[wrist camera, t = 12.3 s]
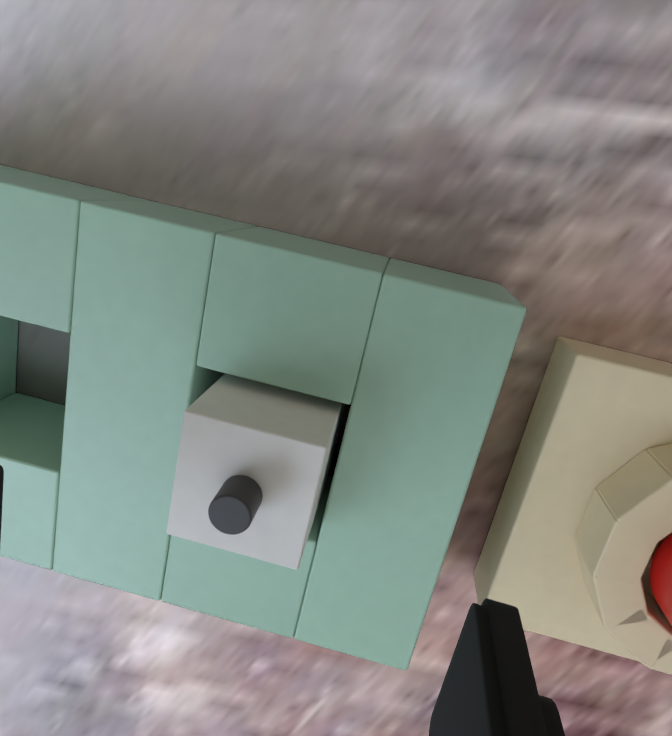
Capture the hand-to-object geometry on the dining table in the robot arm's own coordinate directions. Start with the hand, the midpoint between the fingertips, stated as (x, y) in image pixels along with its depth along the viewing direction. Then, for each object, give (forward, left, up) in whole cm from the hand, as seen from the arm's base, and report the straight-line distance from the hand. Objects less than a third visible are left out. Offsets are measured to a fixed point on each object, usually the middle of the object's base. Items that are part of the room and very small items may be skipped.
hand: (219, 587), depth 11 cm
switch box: (-12, 0, -9) cm, 15 cm away
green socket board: (+4, 0, -9) cm, 10 cm away
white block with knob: (0, 0, -9) cm, 9 cm away
